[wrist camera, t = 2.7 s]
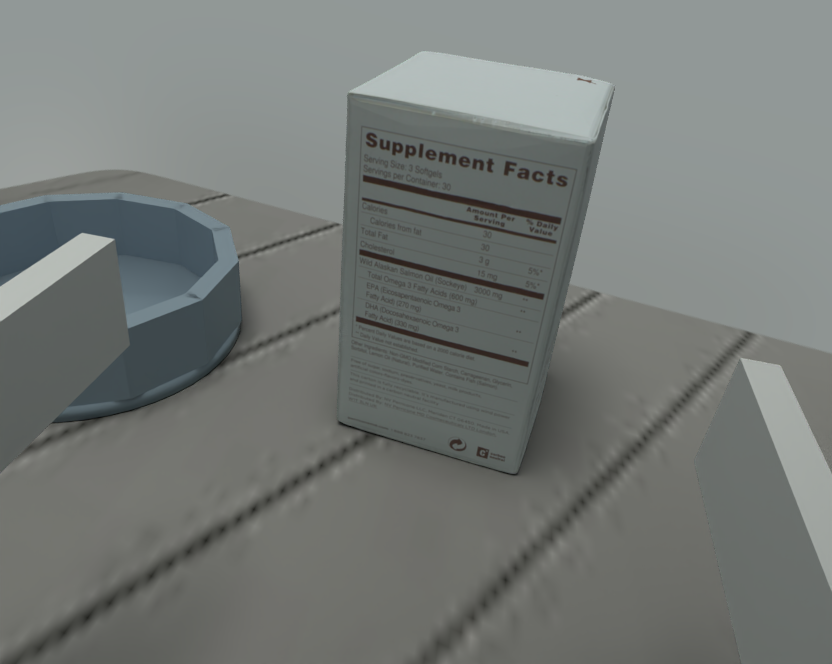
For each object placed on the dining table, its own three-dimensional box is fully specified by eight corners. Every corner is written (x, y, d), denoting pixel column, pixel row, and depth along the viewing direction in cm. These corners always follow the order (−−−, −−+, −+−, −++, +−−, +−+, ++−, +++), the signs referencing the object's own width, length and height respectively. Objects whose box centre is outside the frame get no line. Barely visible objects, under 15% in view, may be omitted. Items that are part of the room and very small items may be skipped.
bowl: (281, 284, 35) (280, 218, 33) (152, 453, 24) (139, 370, 22) (49, 242, 36) (35, 176, 34) (-169, 383, 25) (-208, 300, 23)
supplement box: (394, 330, 32) (421, 45, 25) (550, 372, 30) (624, 79, 24) (328, 425, 26) (339, 85, 19) (517, 483, 24) (603, 134, 18)
